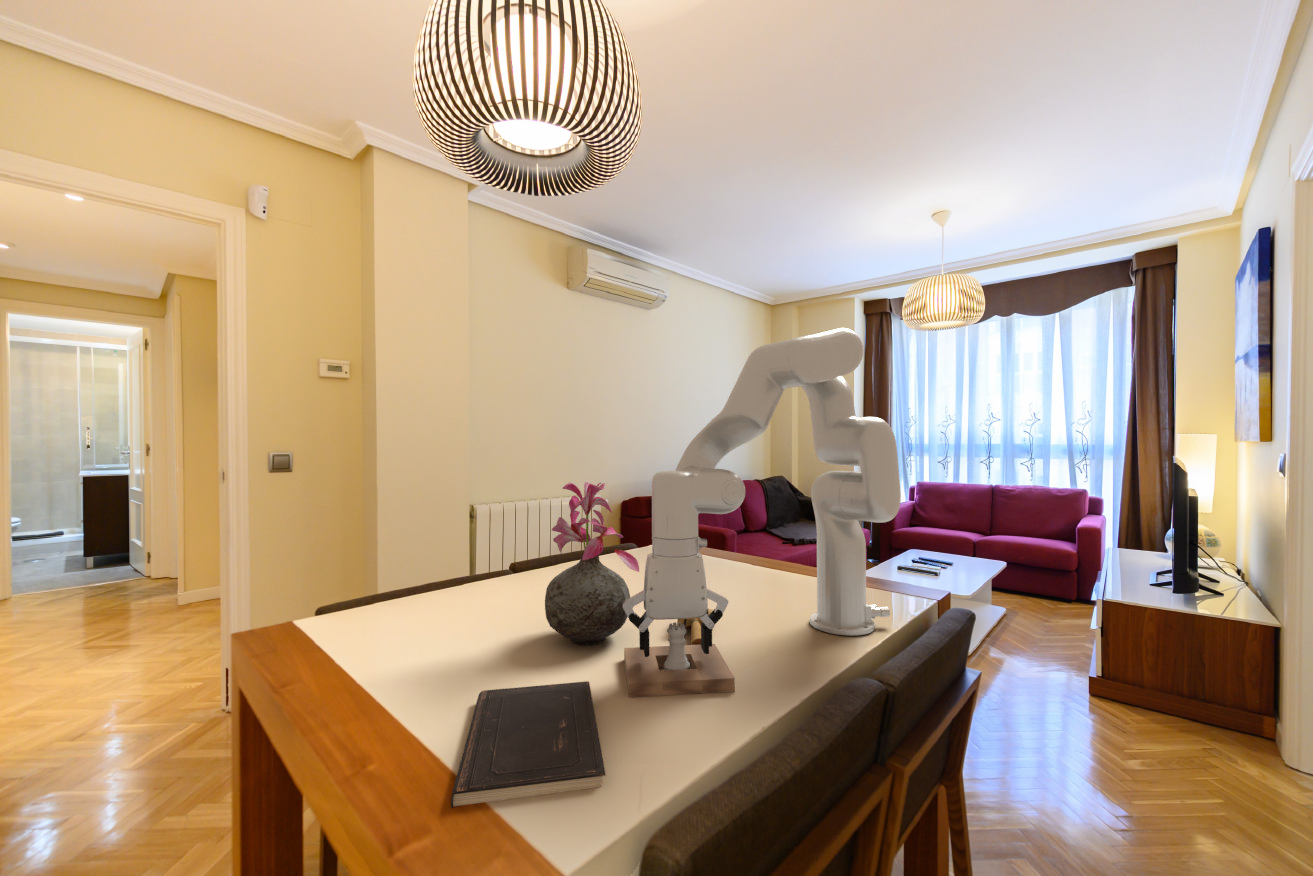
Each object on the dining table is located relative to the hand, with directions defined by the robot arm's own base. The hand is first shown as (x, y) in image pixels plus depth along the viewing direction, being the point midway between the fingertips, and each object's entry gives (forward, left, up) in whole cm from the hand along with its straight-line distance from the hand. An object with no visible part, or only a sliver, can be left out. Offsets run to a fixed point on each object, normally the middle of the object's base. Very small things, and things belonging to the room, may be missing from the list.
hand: (675, 652), depth 88 cm
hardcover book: (+21, +17, -4) cm, 27 cm away
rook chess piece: (0, 0, -4) cm, 4 cm away
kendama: (-6, -17, -4) cm, 19 cm away
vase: (+14, -18, -4) cm, 23 cm away
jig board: (0, 0, -4) cm, 4 cm away
